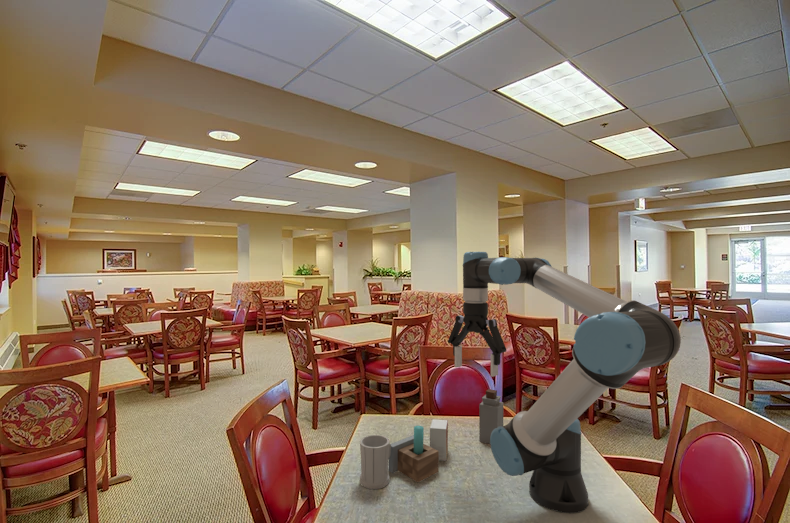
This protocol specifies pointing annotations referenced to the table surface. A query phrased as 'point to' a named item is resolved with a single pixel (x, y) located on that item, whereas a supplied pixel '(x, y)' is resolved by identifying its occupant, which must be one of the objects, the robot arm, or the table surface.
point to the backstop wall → (394, 452)
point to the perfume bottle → (489, 415)
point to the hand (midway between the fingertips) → (475, 371)
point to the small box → (439, 437)
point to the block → (418, 462)
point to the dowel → (418, 439)
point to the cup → (374, 461)
